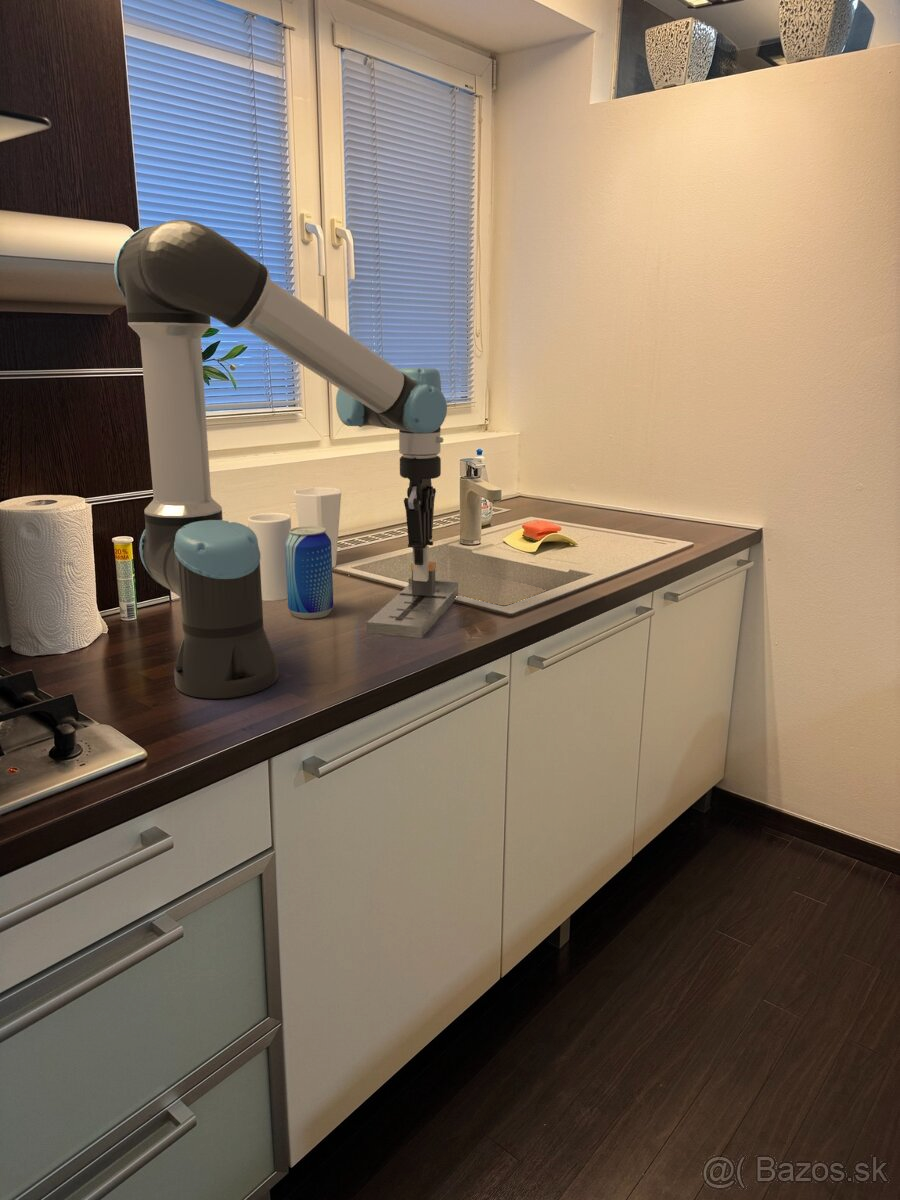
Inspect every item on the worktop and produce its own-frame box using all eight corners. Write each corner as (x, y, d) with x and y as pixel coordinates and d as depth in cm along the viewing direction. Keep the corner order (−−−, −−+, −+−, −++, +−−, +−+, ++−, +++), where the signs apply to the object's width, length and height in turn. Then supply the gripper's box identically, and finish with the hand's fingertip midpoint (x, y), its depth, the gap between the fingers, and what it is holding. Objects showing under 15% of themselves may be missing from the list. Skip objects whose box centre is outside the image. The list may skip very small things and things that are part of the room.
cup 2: (311, 574, 189) (308, 497, 184) (287, 565, 196) (283, 490, 191) (353, 566, 196) (351, 491, 191) (328, 557, 203) (325, 485, 198)
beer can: (316, 603, 168) (312, 523, 164) (342, 613, 162) (340, 530, 158) (279, 612, 163) (275, 529, 158) (305, 623, 157) (301, 537, 152)
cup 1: (285, 602, 169) (280, 521, 164) (246, 599, 171) (240, 520, 166) (300, 590, 177) (296, 513, 172) (262, 588, 178) (258, 511, 174)
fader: (432, 596, 165) (432, 565, 164) (411, 594, 166) (411, 563, 165) (435, 592, 168) (435, 561, 166) (415, 591, 169) (415, 560, 167)
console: (421, 638, 149) (421, 620, 148) (367, 632, 152) (366, 615, 151) (458, 596, 173) (458, 581, 173) (410, 592, 176) (410, 577, 175)
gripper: (430, 460, 150) (430, 590, 157) (449, 451, 162) (448, 572, 169) (389, 459, 152) (391, 587, 159) (410, 450, 164) (412, 570, 171)
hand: (420, 579), depth 164 cm, fingers closed
